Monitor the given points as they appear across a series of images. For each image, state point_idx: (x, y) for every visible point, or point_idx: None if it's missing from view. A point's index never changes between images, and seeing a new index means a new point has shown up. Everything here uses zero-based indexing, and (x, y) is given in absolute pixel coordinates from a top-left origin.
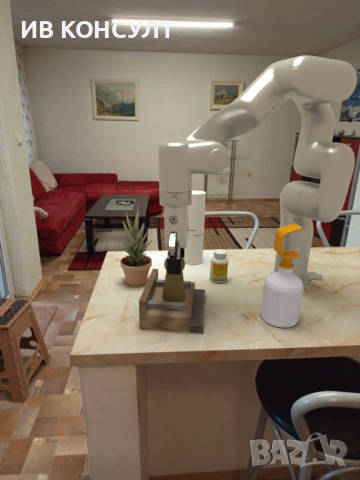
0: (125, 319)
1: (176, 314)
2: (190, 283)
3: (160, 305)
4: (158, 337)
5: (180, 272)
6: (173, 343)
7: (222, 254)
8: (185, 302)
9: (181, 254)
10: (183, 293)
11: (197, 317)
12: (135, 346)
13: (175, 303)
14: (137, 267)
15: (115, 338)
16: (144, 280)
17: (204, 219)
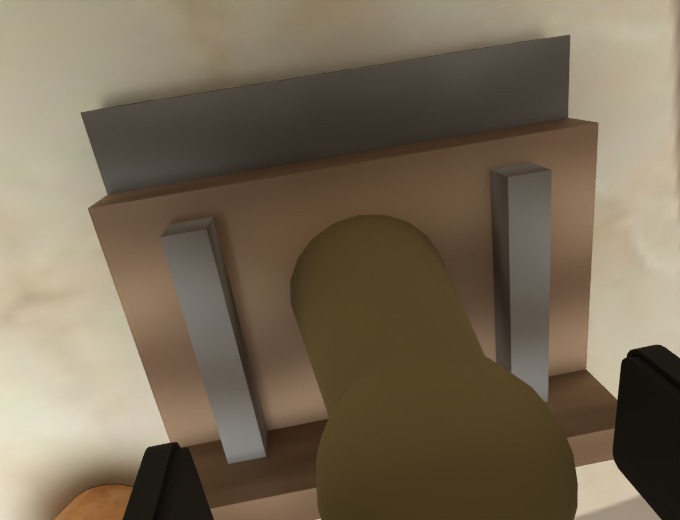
0: None
1: (569, 217)
2: (199, 231)
3: (545, 331)
4: (593, 253)
5: (668, 355)
6: (632, 174)
7: None
8: (420, 201)
9: (186, 506)
10: (403, 239)
11: (480, 92)
12: (658, 318)
13: (527, 254)
14: None
15: None
16: (123, 504)
17: None
